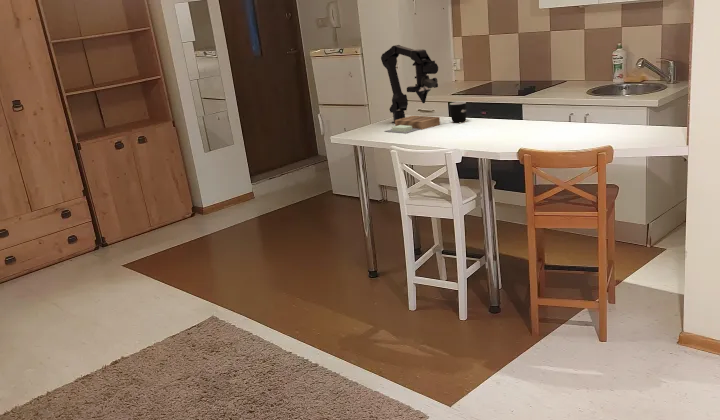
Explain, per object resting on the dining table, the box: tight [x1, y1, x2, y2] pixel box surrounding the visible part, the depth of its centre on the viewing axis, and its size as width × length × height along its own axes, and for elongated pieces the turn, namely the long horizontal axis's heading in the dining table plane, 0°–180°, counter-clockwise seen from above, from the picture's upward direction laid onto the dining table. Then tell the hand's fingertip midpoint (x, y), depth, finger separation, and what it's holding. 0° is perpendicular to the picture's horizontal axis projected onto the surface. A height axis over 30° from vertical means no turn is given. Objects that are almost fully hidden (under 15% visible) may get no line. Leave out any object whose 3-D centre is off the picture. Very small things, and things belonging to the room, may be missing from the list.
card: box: [391, 125, 412, 132], centre depth 348 cm, size 9×6×2 cm, turn 42°
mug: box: [449, 101, 467, 124], centre depth 356 cm, size 12×9×10 cm
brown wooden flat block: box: [394, 115, 441, 130], centre depth 357 cm, size 20×14×4 cm
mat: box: [384, 128, 421, 134], centre depth 349 cm, size 16×11×1 cm
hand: (423, 103), depth 357 cm, fingers closed
